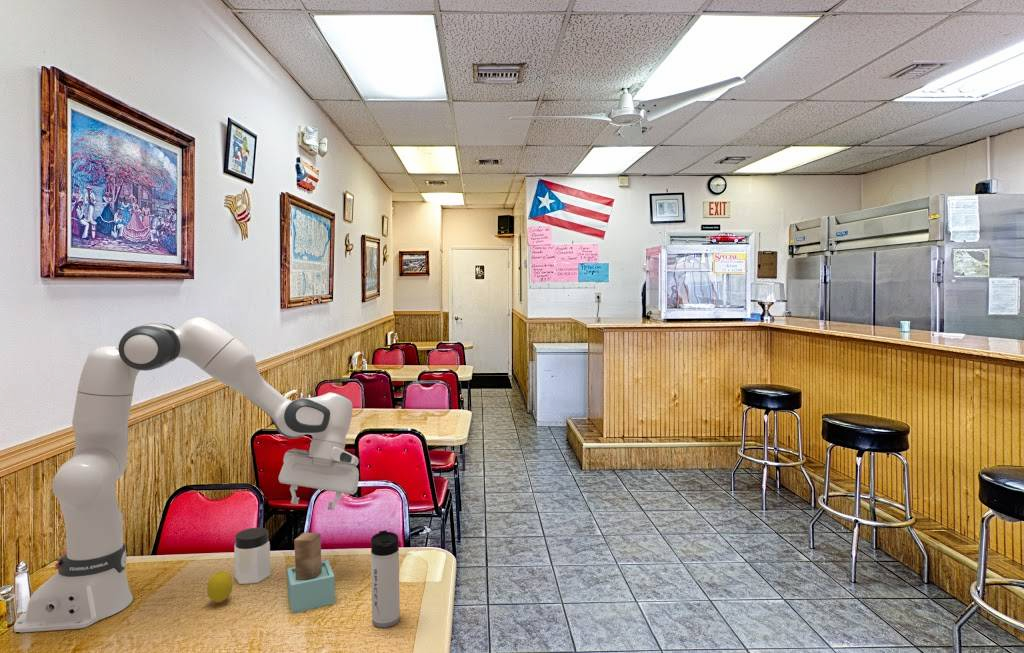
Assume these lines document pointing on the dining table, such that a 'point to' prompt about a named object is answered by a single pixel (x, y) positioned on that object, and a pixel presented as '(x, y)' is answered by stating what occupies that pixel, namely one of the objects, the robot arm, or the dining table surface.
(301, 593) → the teal box
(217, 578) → the lemon
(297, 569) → the walnut block
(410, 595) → the dining table surface
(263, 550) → the jar
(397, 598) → the travel mug
